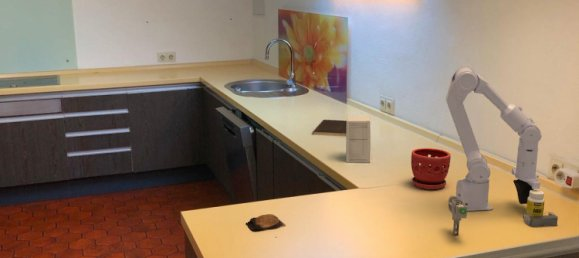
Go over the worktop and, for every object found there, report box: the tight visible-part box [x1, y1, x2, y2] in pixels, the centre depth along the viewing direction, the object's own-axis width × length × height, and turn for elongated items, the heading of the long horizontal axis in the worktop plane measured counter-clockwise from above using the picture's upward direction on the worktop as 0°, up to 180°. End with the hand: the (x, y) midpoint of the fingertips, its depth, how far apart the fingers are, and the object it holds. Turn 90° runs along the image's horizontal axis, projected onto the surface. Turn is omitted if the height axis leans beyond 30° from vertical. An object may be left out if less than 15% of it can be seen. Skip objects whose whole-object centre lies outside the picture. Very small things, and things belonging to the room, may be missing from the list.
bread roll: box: [245, 213, 287, 233], centre depth 183 cm, size 11×8×4 cm
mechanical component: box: [447, 195, 468, 236], centre depth 175 cm, size 3×10×10 cm, turn 2°
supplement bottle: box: [525, 189, 545, 216], centre depth 186 cm, size 5×5×8 cm
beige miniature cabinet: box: [345, 115, 372, 164], centre depth 244 cm, size 10×9×17 cm
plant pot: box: [410, 147, 451, 190], centre depth 214 cm, size 13×13×12 cm
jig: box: [523, 211, 559, 228], centre depth 183 cm, size 9×4×2 cm, turn 96°
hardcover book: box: [311, 119, 347, 137], centre depth 292 cm, size 16×23×2 cm
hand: (522, 203), depth 193 cm, fingers closed
